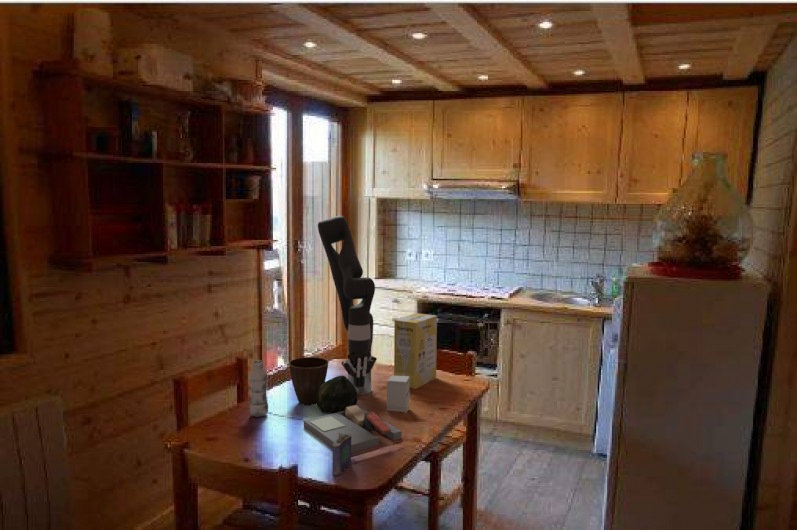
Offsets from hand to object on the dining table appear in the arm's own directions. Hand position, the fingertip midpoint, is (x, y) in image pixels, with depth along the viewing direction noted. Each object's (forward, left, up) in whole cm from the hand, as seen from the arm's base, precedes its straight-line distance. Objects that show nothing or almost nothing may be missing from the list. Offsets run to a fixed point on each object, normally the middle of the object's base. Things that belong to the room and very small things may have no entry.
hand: (359, 386), depth 191 cm
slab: (-1, -1, -12) cm, 12 cm away
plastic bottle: (-31, -24, -15) cm, 42 cm away
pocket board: (+4, -6, -15) cm, 16 cm away
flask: (+22, -20, -15) cm, 33 cm away
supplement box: (-6, +20, -15) cm, 26 cm away
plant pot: (-33, -3, -15) cm, 36 cm away
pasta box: (-31, +47, -15) cm, 58 cm away
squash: (-18, +1, -15) cm, 23 cm away
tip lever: (+5, -1, -14) cm, 15 cm away
